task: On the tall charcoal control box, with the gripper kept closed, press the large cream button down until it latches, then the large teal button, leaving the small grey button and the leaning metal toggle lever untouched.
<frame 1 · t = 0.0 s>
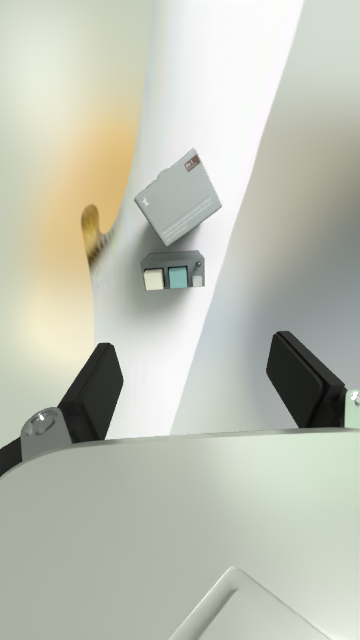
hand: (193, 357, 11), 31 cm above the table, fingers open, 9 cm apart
cream button: (154, 278, 29), point 11 cm above the table, slide at 0.0 cm
metal lever: (197, 265, 28), point 12 cm above the table, hinge at -18.6°, touching panel
teal button: (178, 277, 29), point 11 cm above the table, slide at 0.0 cm
panel: (174, 263, 39), on the table
grey button: (197, 281, 30), point 11 cm above the table, slide at 0.0 cm
skincare box: (177, 213, 35), on the table
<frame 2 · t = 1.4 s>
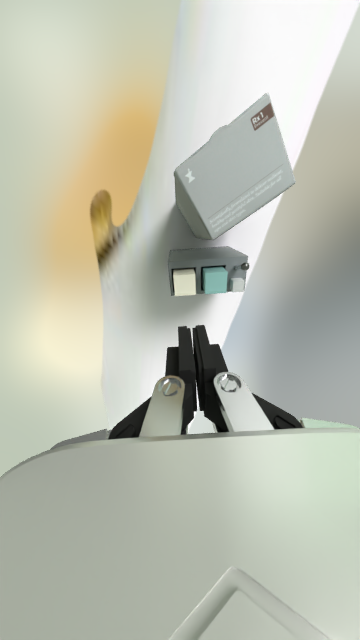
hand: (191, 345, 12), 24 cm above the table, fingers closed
cream button: (184, 281, 24), point 11 cm above the table, slide at 0.0 cm
metal lever: (241, 266, 22), point 12 cm above the table, hinge at -14.1°, touching panel
teal button: (213, 279, 24), point 11 cm above the table, slide at 0.0 cm
panel: (199, 261, 33), on the table
grey button: (236, 284, 24), point 11 cm above the table, slide at 0.0 cm, touching panel
skincare box: (207, 201, 29), on the table
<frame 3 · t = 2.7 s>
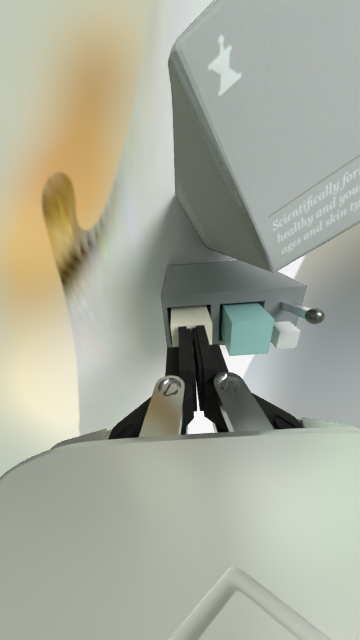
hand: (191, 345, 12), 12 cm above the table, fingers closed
cream button: (190, 329, 13), point 11 cm above the table, slide at 0.0 cm, touching gripper
metal lever: (299, 310, 11), point 12 cm above the table, hinge at -11.9°, touching panel
teal button: (243, 326, 13), point 11 cm above the table, slide at 0.0 cm
panel: (209, 281, 22), on the table
grey button: (283, 334, 13), point 11 cm above the table, slide at 0.0 cm, touching panel
skincare box: (224, 191, 18), on the table
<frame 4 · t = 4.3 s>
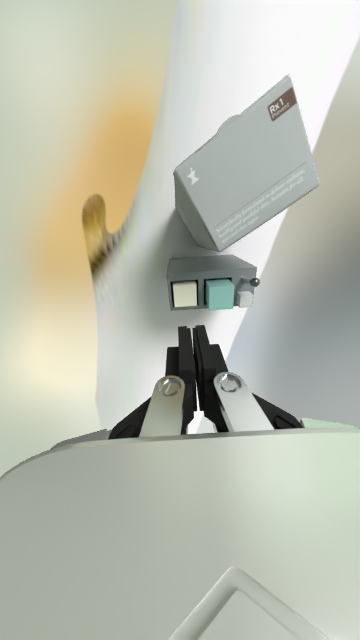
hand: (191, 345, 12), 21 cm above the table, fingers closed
cream button: (184, 291, 22), point 9 cm above the table, slide at 1.5 cm
metal lever: (249, 281, 19), point 12 cm above the table, hinge at -10.4°, touching panel
teal button: (218, 293, 21), point 11 cm above the table, slide at 0.0 cm
panel: (201, 271, 30), on the table
grey button: (244, 299, 21), point 11 cm above the table, slide at 0.0 cm, touching panel
skincare box: (209, 206, 26), on the table
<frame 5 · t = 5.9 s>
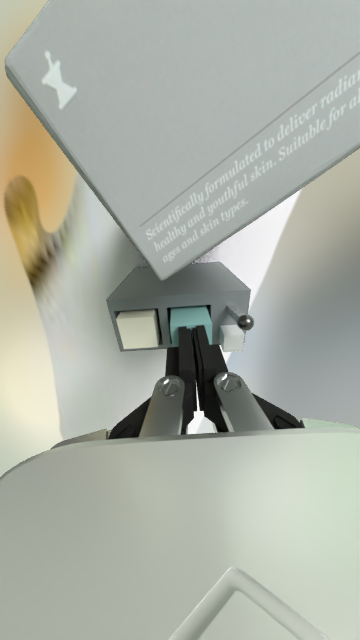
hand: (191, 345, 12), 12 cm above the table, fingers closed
cream button: (141, 322, 15), point 9 cm above the table, slide at 1.5 cm
metal lever: (238, 315, 11), point 12 cm above the table, hinge at -9.8°, touching panel
teal button: (190, 329, 13), point 11 cm above the table, slide at 0.0 cm, touching gripper
panel: (178, 283, 22), on the table
grey button: (231, 338, 14), point 11 cm above the table, slide at 0.0 cm, touching panel
skincare box: (186, 194, 18), on the table
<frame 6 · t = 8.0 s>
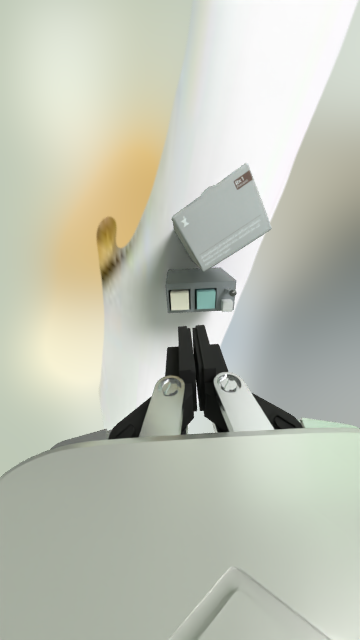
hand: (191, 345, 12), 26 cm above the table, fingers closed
cream button: (179, 297, 28), point 9 cm above the table, slide at 1.5 cm
metal lever: (229, 291, 25), point 12 cm above the table, hinge at -9.4°, touching panel
teal button: (204, 296, 28), point 9 cm above the table, slide at 1.5 cm
panel: (194, 280, 36), on the table
grey button: (226, 305, 27), point 11 cm above the table, slide at 0.0 cm, touching panel
skincare box: (202, 228, 32), on the table
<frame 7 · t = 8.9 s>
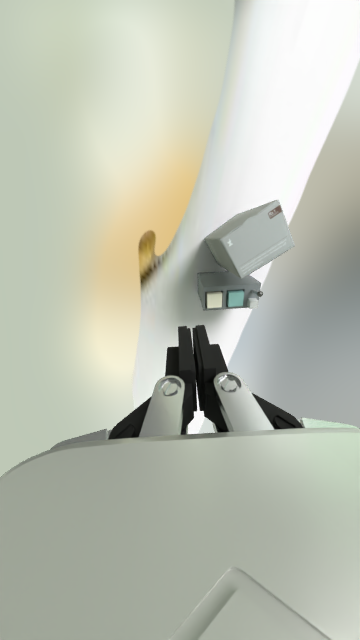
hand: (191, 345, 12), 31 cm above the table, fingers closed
cream button: (213, 297, 34), point 9 cm above the table, slide at 1.5 cm
metal lever: (256, 292, 31), point 12 cm above the table, hinge at -9.3°, touching panel
teal button: (233, 296, 34), point 9 cm above the table, slide at 1.5 cm
panel: (219, 281, 42), on the table
grey button: (252, 303, 33), point 11 cm above the table, slide at 0.0 cm, touching panel
skincare box: (227, 237, 38), on the table
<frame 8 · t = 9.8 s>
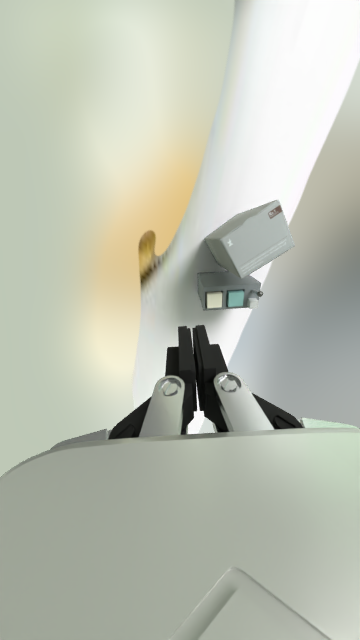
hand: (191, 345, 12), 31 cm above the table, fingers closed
cream button: (213, 297, 34), point 9 cm above the table, slide at 1.5 cm
metal lever: (256, 292, 31), point 12 cm above the table, hinge at -9.2°, touching panel
teal button: (233, 296, 34), point 9 cm above the table, slide at 1.5 cm
panel: (219, 281, 42), on the table
grey button: (252, 303, 33), point 11 cm above the table, slide at 0.0 cm, touching panel
skincare box: (227, 237, 38), on the table
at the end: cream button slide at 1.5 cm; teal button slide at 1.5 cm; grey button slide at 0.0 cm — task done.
